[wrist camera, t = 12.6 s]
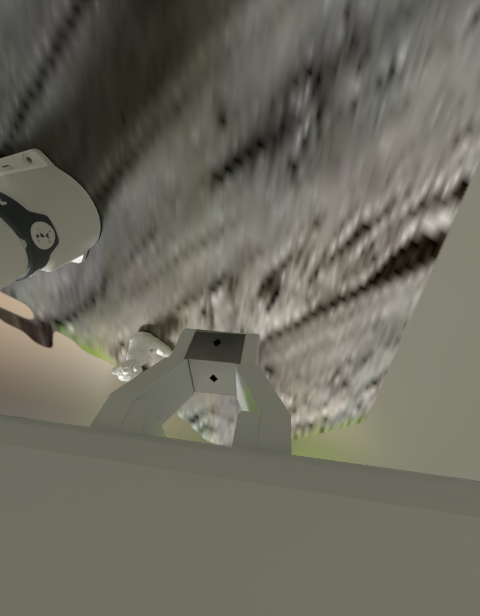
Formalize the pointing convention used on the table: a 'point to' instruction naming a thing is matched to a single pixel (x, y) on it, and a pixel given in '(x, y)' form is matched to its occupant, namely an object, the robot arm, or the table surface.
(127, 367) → the sitting furry creature
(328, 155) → the table surface
